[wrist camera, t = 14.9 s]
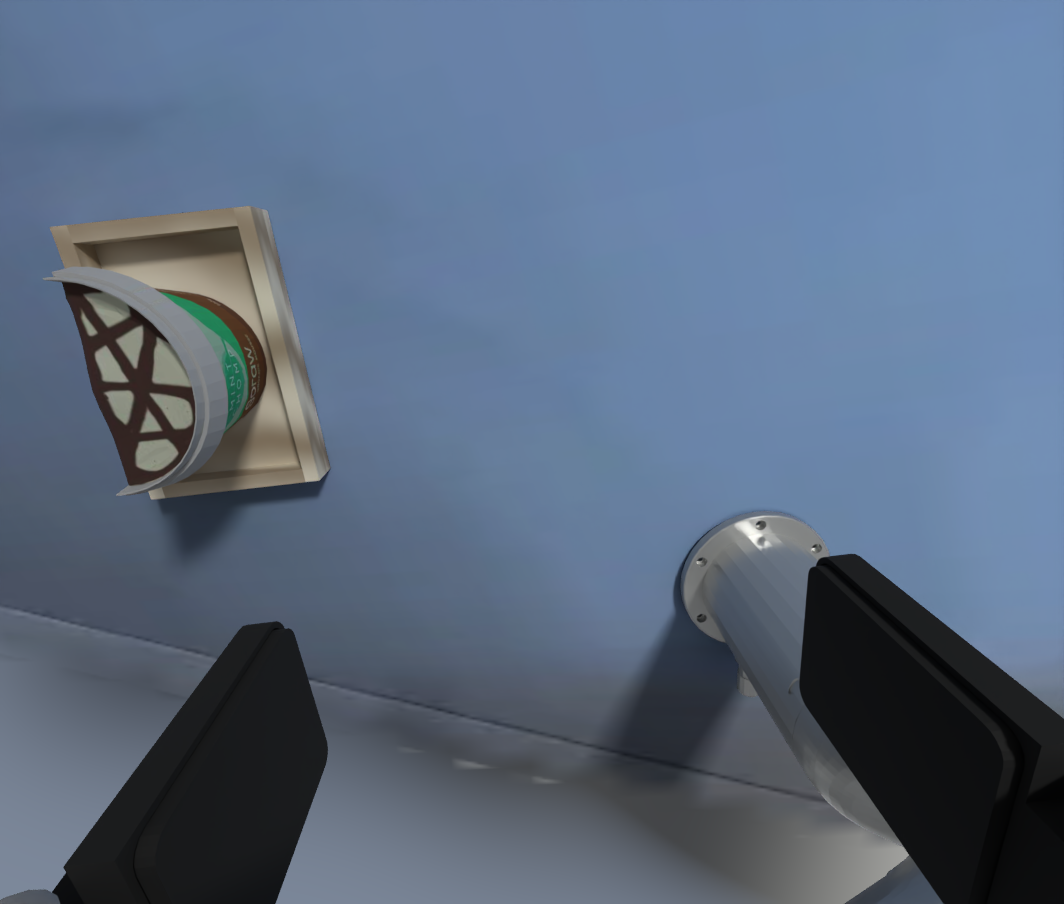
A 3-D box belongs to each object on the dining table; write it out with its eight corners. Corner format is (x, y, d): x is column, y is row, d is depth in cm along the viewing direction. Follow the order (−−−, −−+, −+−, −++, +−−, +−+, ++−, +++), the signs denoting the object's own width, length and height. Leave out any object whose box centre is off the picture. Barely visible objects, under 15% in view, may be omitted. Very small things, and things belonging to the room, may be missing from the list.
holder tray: (330, 468, 40) (319, 480, 38) (172, 486, 40) (151, 499, 37) (267, 210, 34) (249, 206, 32) (81, 230, 34) (49, 227, 31)
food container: (300, 441, 38) (233, 497, 29) (215, 447, 38) (119, 505, 29) (263, 262, 34) (171, 258, 25) (167, 268, 34) (38, 265, 25)
